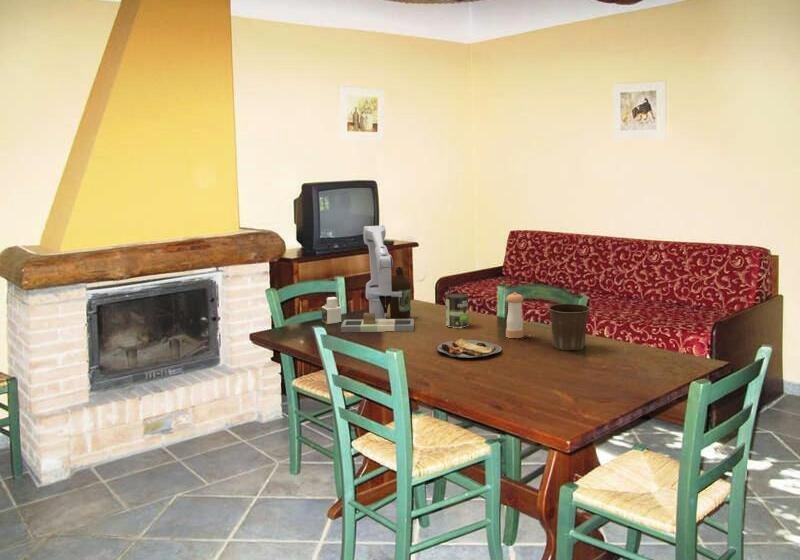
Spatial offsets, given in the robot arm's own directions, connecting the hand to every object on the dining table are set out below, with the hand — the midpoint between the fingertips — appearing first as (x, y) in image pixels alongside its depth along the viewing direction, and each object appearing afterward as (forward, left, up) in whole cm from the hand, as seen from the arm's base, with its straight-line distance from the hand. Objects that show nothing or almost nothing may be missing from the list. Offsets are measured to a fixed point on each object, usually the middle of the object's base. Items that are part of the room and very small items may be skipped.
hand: (385, 312), depth 337 cm
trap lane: (0, -3, -7) cm, 8 cm away
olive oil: (-19, +6, -7) cm, 21 cm away
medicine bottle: (-14, -26, -7) cm, 30 cm away
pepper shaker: (+20, +55, -7) cm, 59 cm away
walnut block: (0, -7, -5) cm, 9 cm away
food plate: (+43, +34, -8) cm, 55 cm away
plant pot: (+38, +74, -7) cm, 84 cm away
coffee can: (-2, +32, -7) cm, 33 cm away
